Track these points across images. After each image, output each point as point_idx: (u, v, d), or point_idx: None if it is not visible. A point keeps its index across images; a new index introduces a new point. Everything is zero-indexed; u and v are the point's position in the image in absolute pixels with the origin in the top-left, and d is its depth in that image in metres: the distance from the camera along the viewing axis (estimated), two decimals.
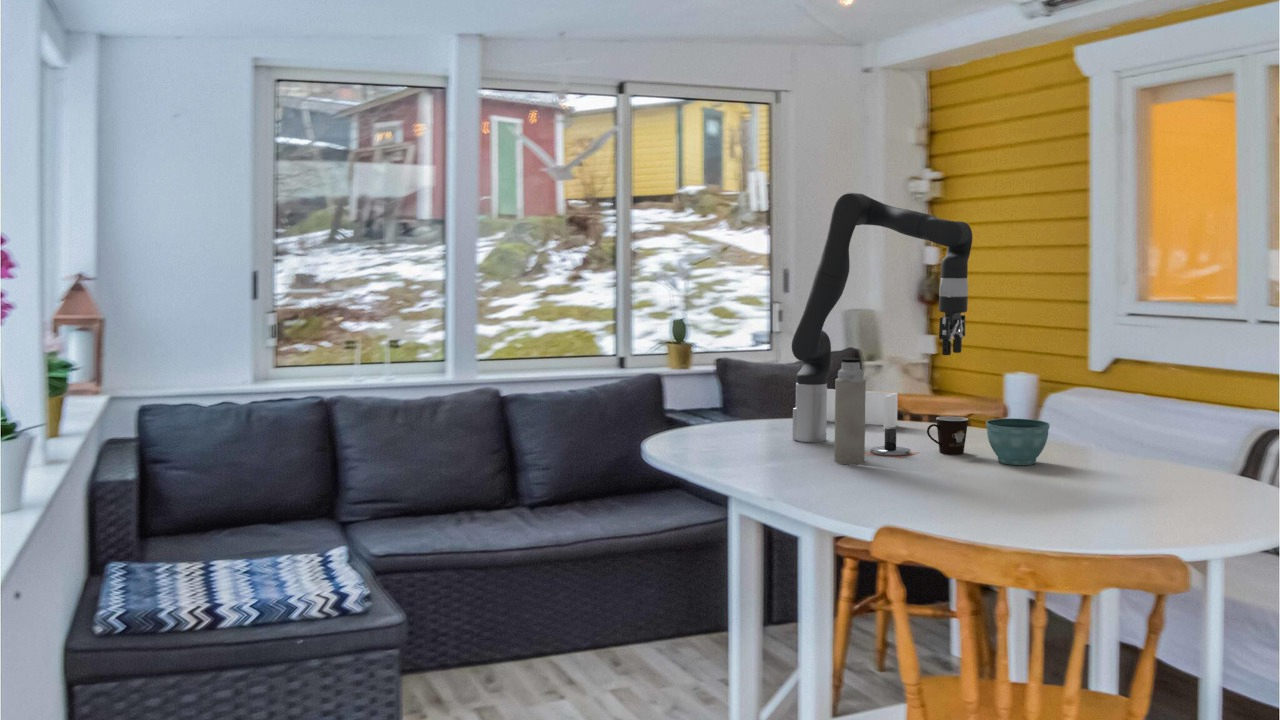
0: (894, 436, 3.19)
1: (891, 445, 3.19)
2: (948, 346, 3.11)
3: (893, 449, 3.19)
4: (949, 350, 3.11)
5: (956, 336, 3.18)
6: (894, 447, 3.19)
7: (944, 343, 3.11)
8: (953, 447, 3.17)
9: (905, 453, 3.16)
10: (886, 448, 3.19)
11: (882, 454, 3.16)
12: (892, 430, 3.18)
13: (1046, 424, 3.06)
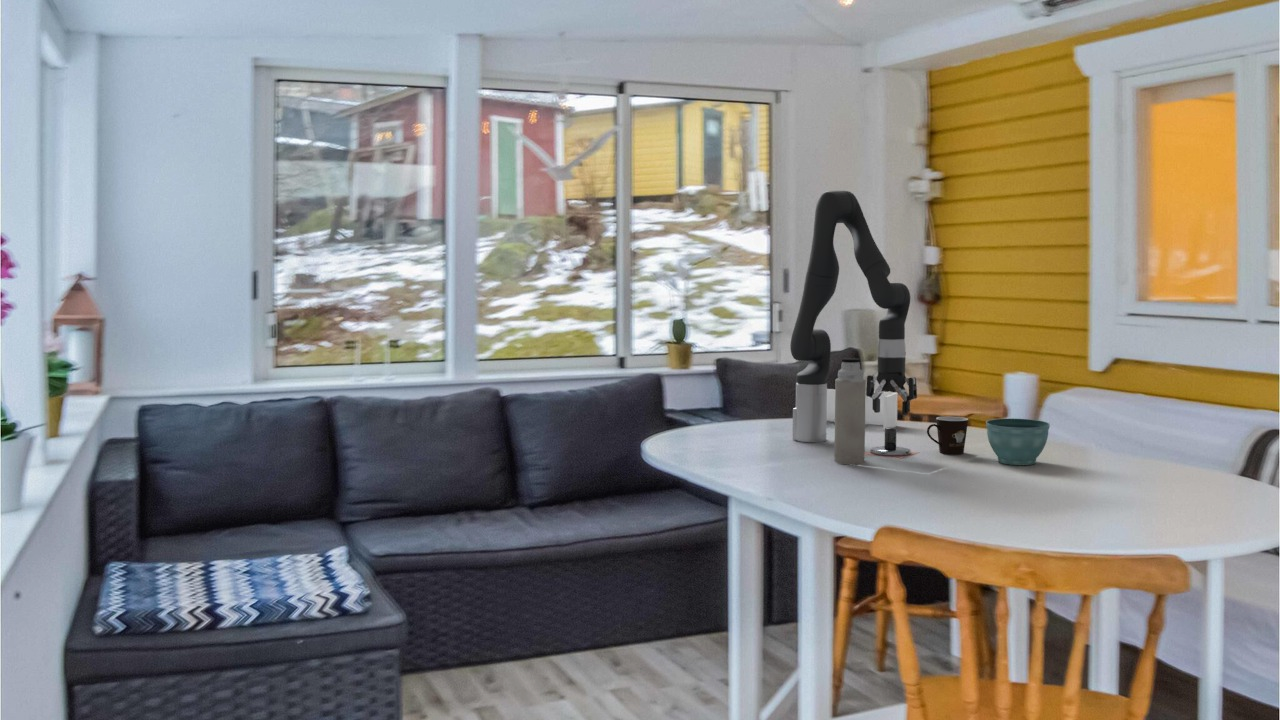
0: (894, 436, 3.19)
1: (891, 445, 3.19)
2: None
3: (893, 449, 3.19)
4: None
5: (877, 396, 3.21)
6: (894, 447, 3.19)
7: (908, 403, 3.15)
8: (953, 447, 3.17)
9: (905, 453, 3.16)
10: (886, 448, 3.19)
11: (882, 454, 3.16)
12: (892, 430, 3.18)
13: (1046, 424, 3.06)
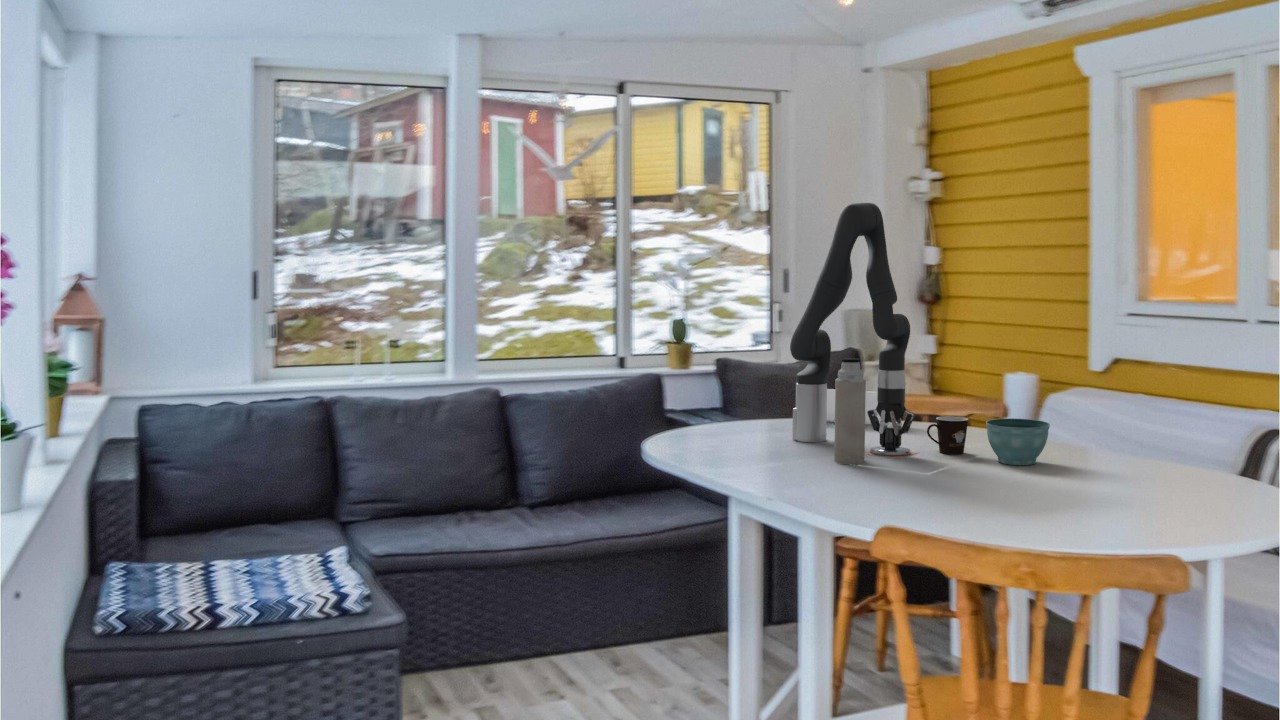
0: None
1: (890, 445, 3.19)
2: None
3: (893, 449, 3.19)
4: None
5: (884, 430, 3.21)
6: None
7: (899, 437, 3.18)
8: (953, 447, 3.17)
9: (905, 453, 3.16)
10: (886, 448, 3.19)
11: (882, 454, 3.16)
12: (892, 430, 3.18)
13: (1046, 424, 3.06)
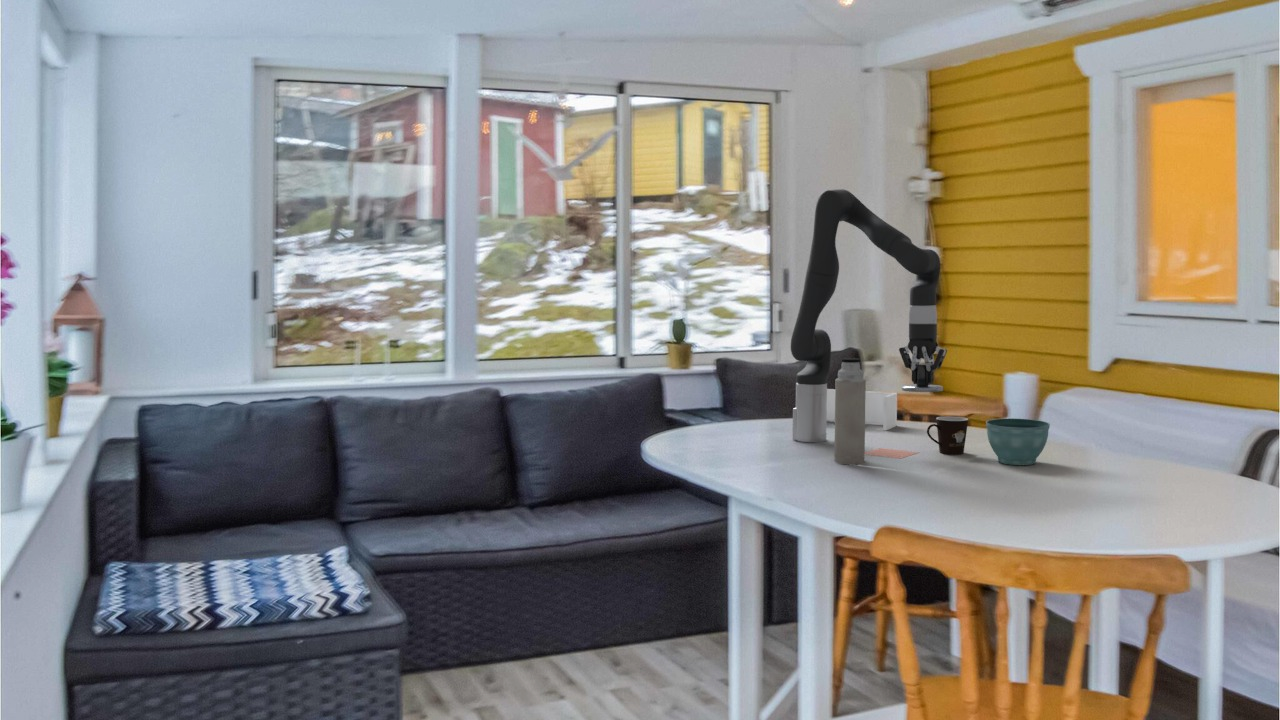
0: None
1: (923, 381, 3.16)
2: None
3: (925, 385, 3.16)
4: None
5: None
6: None
7: (931, 373, 3.16)
8: (953, 447, 3.17)
9: (937, 389, 3.14)
10: (918, 385, 3.17)
11: (914, 390, 3.14)
12: (924, 366, 3.16)
13: (1046, 424, 3.06)
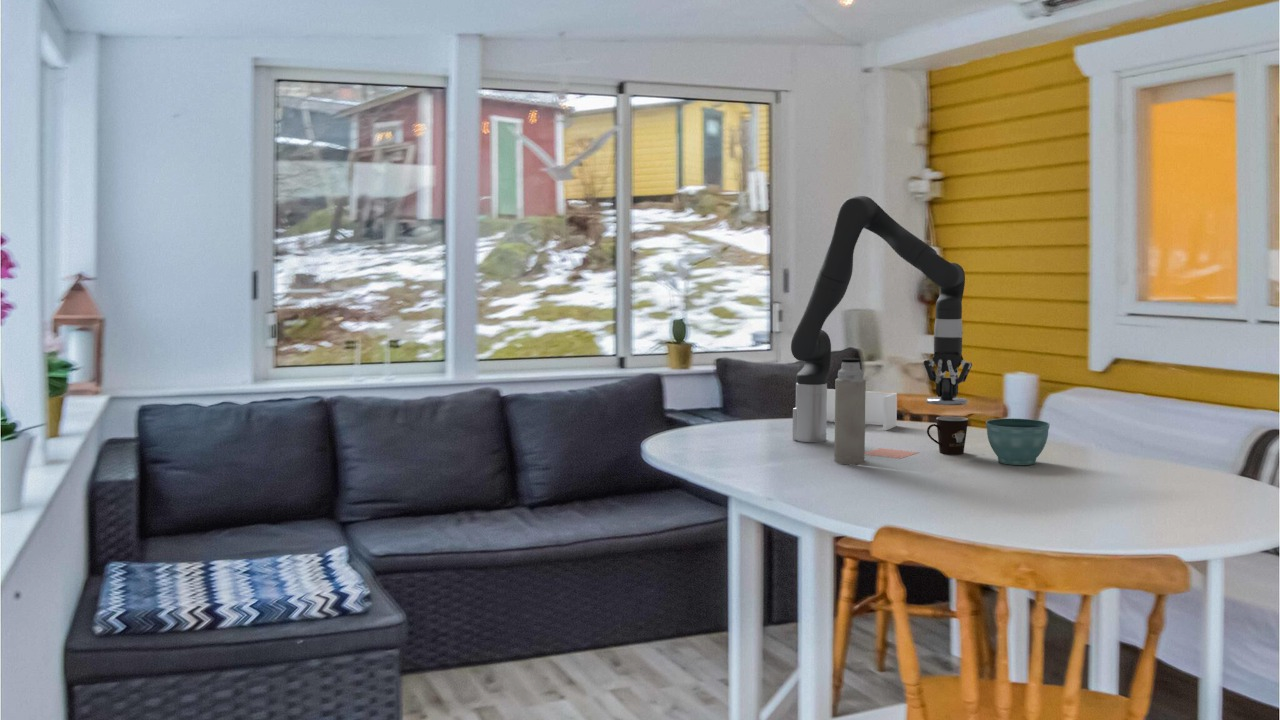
0: None
1: (947, 395, 3.18)
2: None
3: (950, 398, 3.18)
4: None
5: (940, 379, 3.20)
6: None
7: (956, 386, 3.17)
8: (953, 447, 3.17)
9: (962, 402, 3.15)
10: (943, 397, 3.18)
11: (939, 403, 3.15)
12: (949, 379, 3.17)
13: (1046, 424, 3.06)
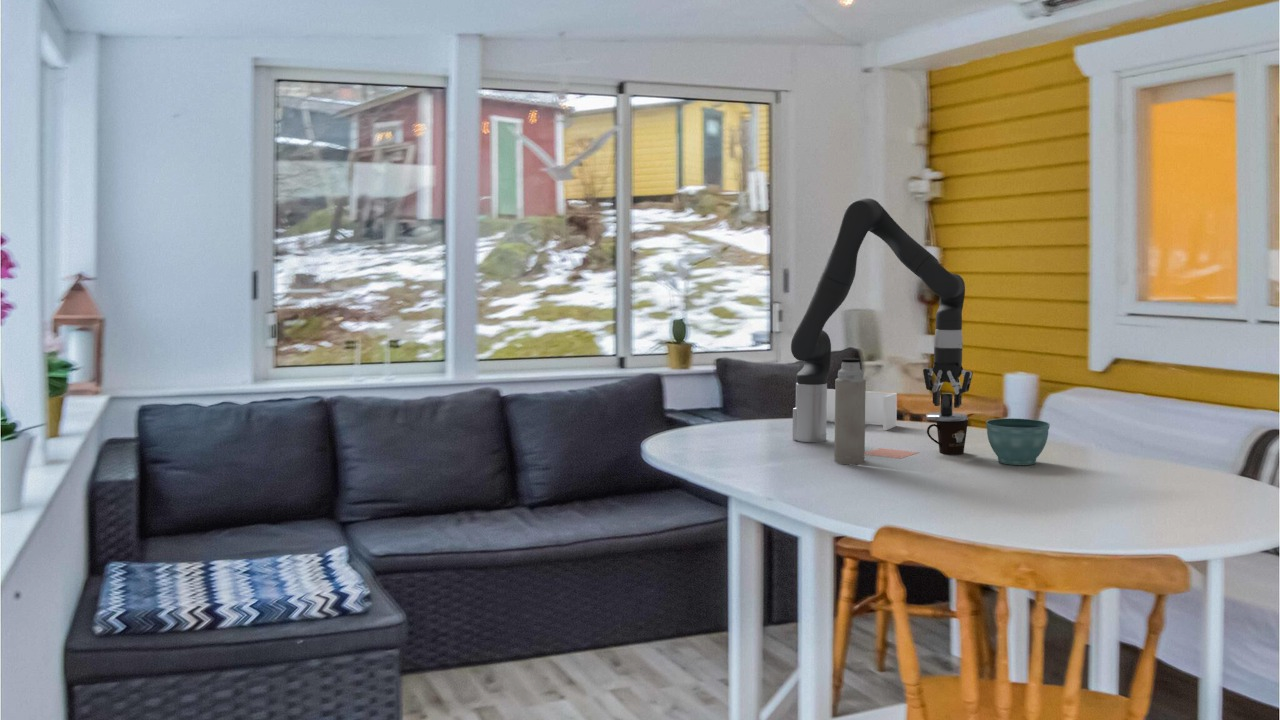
0: (950, 401, 3.18)
1: (947, 410, 3.18)
2: None
3: (949, 414, 3.18)
4: None
5: (937, 389, 3.21)
6: (950, 412, 3.18)
7: (959, 396, 3.17)
8: (953, 447, 3.17)
9: (962, 418, 3.15)
10: (942, 413, 3.19)
11: (939, 419, 3.15)
12: (948, 395, 3.18)
13: (1046, 424, 3.06)
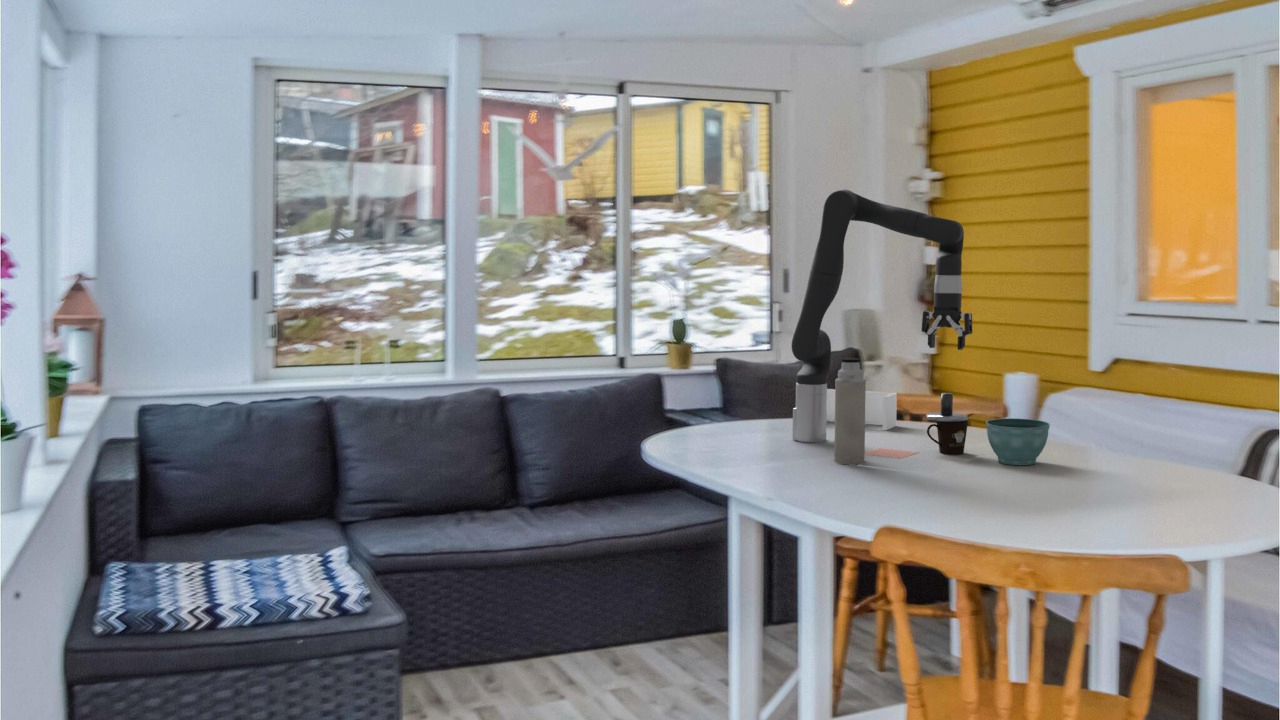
0: (951, 401, 3.18)
1: (947, 411, 3.18)
2: None
3: (950, 414, 3.18)
4: None
5: (932, 332, 3.27)
6: (950, 412, 3.18)
7: (963, 338, 3.21)
8: (953, 447, 3.17)
9: (962, 418, 3.15)
10: (942, 413, 3.19)
11: (939, 419, 3.15)
12: (949, 395, 3.18)
13: (1046, 424, 3.06)
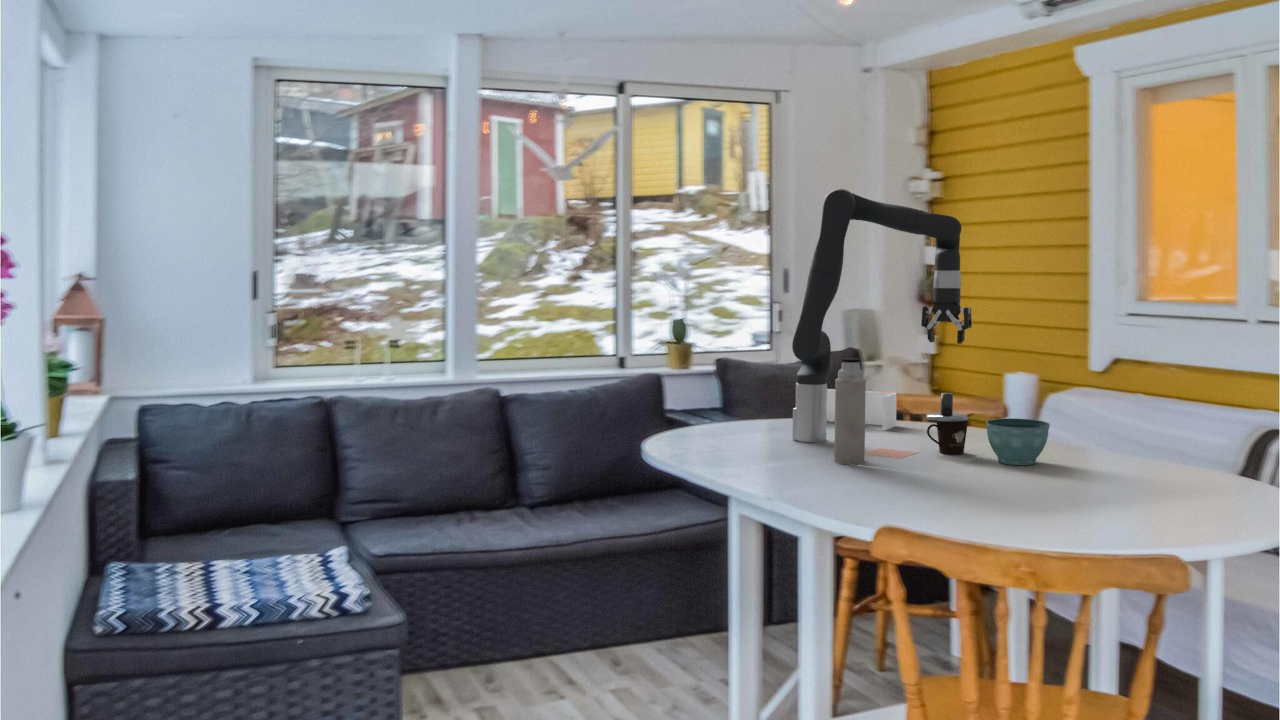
0: (951, 401, 3.18)
1: (947, 411, 3.18)
2: None
3: (950, 414, 3.18)
4: None
5: None
6: (951, 412, 3.18)
7: (962, 332, 3.27)
8: (953, 447, 3.17)
9: (962, 418, 3.15)
10: (942, 413, 3.19)
11: (939, 419, 3.15)
12: (949, 395, 3.18)
13: (1046, 424, 3.06)
